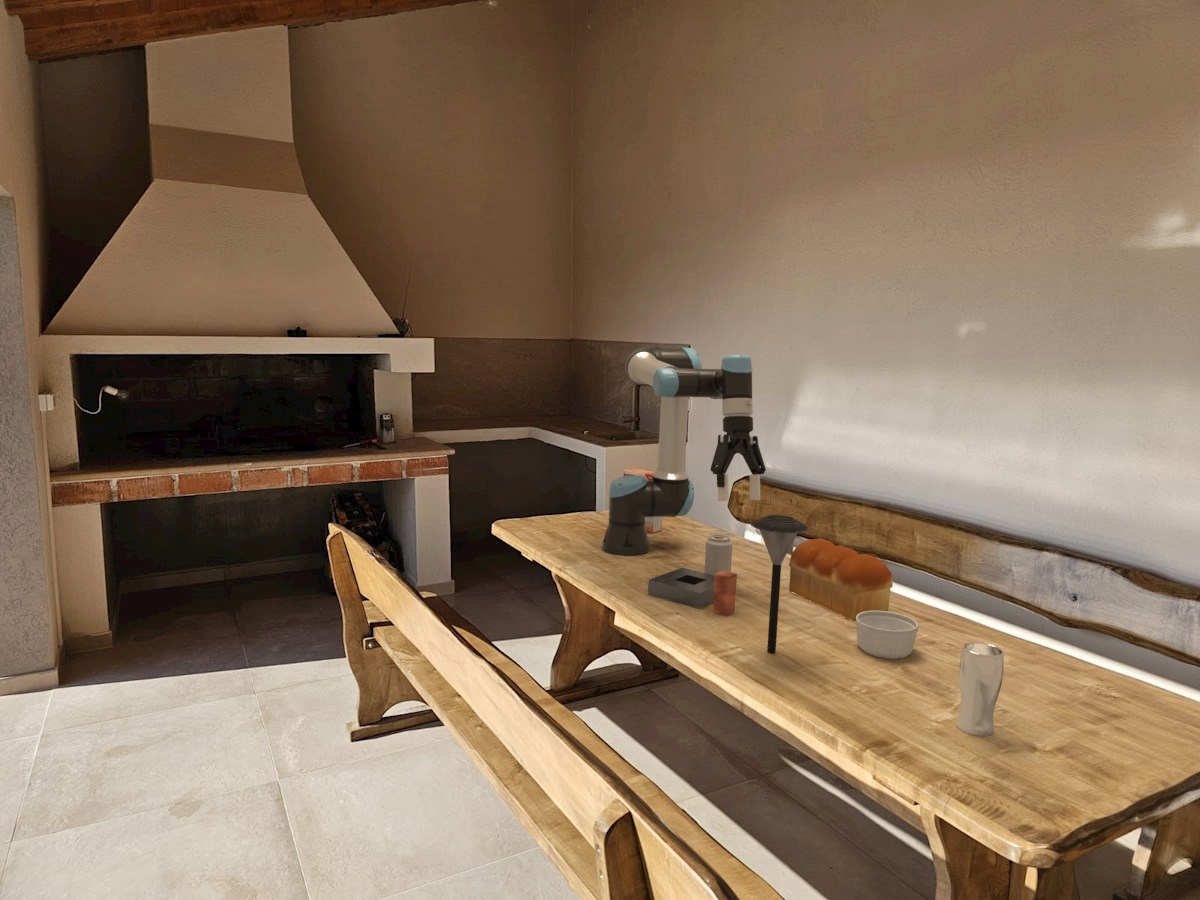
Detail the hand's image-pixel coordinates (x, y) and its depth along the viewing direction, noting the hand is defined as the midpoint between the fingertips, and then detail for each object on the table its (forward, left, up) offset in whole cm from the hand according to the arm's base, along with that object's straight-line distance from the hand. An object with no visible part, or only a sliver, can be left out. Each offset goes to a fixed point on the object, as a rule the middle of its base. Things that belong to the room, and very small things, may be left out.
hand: (739, 500), depth 204 cm
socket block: (-13, 0, -28) cm, 31 cm away
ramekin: (+40, -2, -28) cm, 49 cm away
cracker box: (-66, +50, -28) cm, 88 cm away
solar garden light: (+22, -21, -28) cm, 41 cm away
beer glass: (+66, -28, -28) cm, 77 cm away
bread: (+18, +22, -28) cm, 40 cm away
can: (-16, +19, -28) cm, 37 cm away
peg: (+1, -6, -28) cm, 28 cm away
